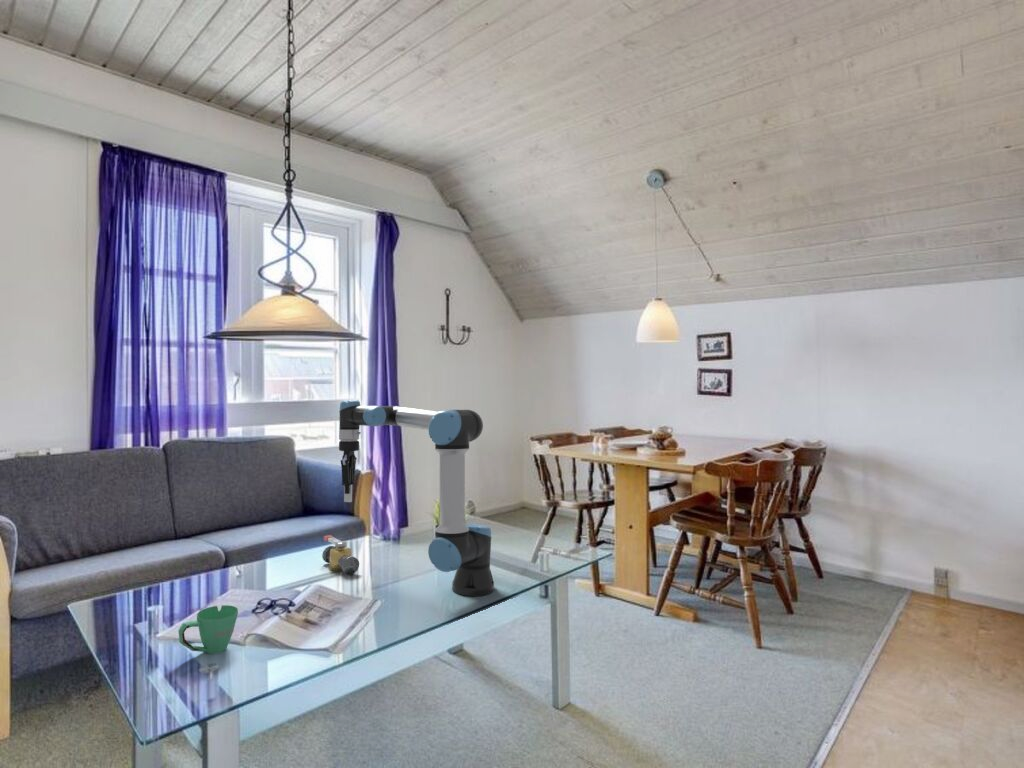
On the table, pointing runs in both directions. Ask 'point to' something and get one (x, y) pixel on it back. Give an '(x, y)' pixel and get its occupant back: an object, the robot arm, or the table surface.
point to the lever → (335, 541)
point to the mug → (212, 629)
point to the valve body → (340, 560)
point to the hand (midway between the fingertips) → (347, 501)
